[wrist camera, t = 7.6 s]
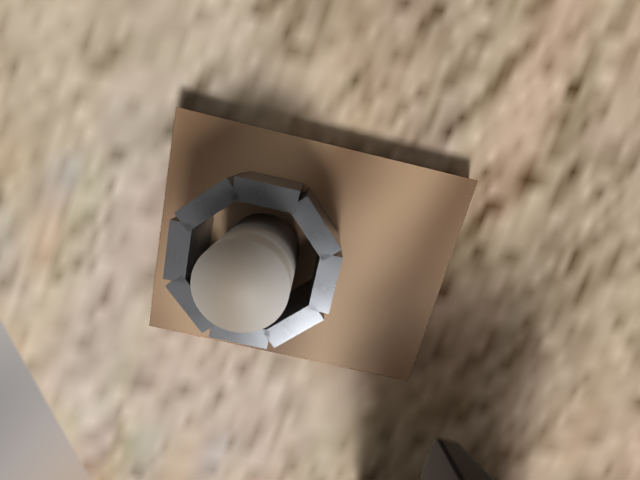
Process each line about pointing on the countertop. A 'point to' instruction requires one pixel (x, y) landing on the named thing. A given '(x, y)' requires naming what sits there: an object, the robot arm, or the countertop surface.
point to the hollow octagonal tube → (268, 191)
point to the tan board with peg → (298, 253)
